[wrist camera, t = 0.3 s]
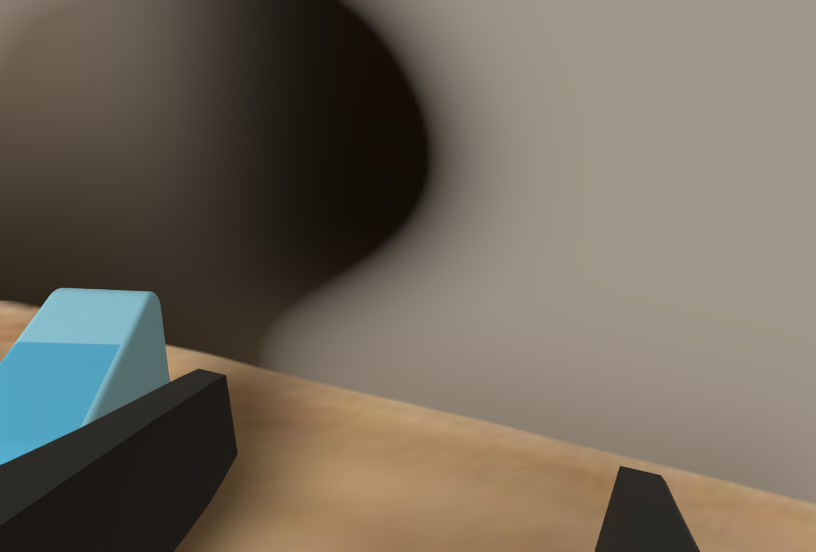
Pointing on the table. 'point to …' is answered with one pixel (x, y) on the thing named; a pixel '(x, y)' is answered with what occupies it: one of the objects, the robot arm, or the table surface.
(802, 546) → the table surface
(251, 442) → the table surface
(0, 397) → the data package
